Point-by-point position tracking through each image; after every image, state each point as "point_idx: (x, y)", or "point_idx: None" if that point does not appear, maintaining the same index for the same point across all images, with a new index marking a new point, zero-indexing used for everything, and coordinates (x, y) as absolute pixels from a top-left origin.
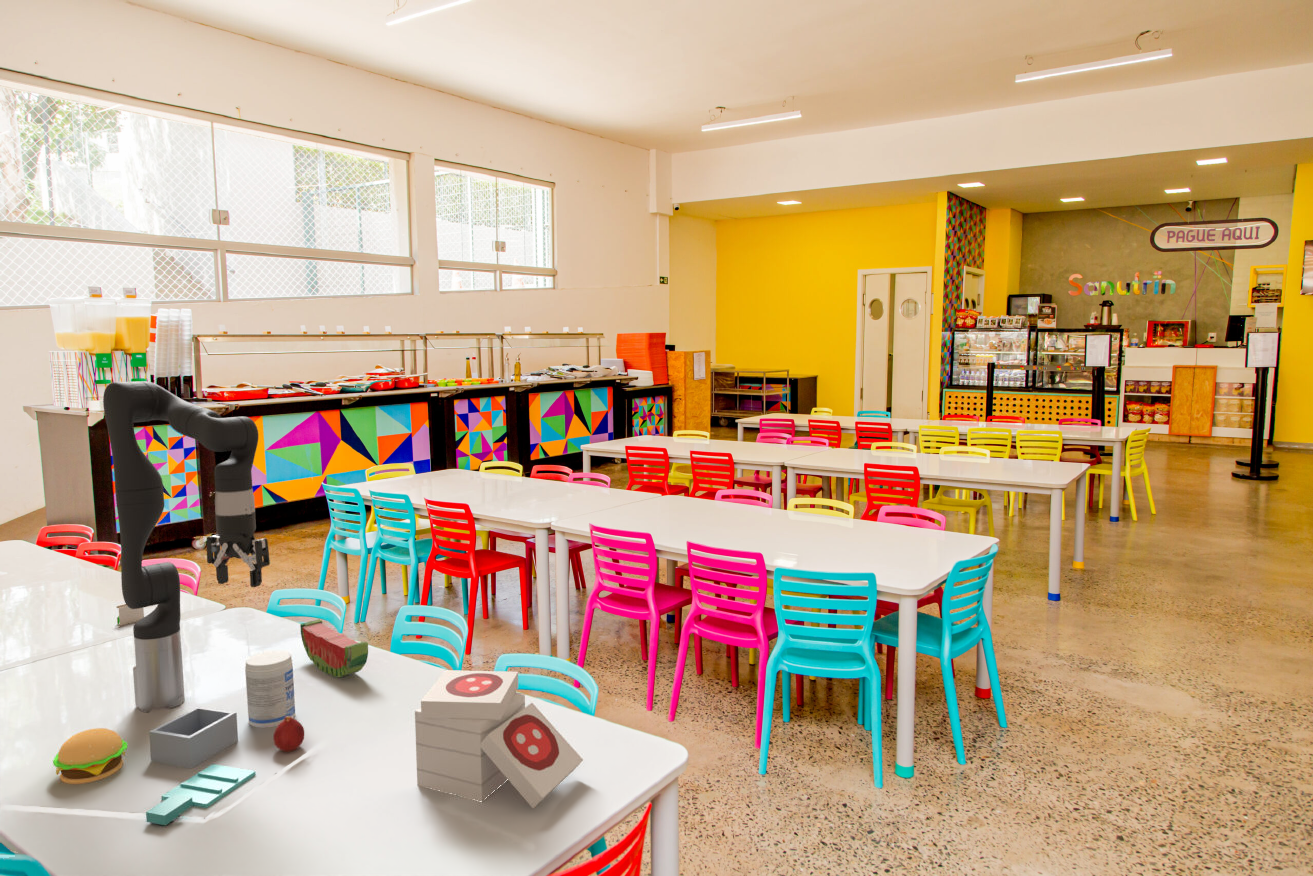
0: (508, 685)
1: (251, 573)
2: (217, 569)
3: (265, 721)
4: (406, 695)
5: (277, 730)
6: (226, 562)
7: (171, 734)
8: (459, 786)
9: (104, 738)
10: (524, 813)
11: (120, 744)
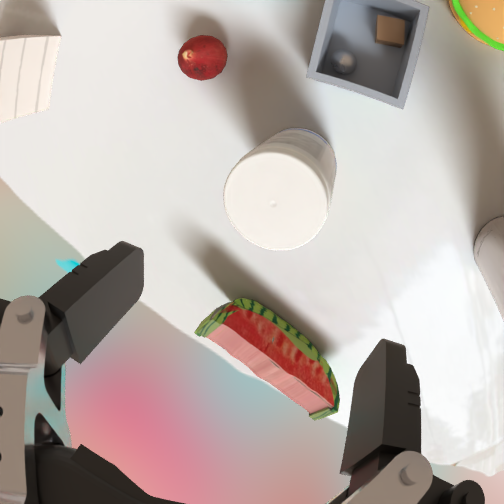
0: None
1: (68, 293)
2: (404, 432)
3: (289, 129)
4: (150, 243)
5: (205, 40)
6: (340, 493)
7: None
8: (27, 35)
9: None
10: (6, 35)
11: (462, 1)
